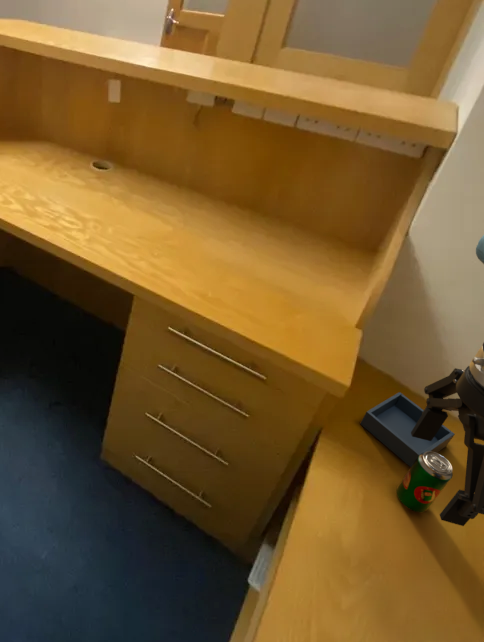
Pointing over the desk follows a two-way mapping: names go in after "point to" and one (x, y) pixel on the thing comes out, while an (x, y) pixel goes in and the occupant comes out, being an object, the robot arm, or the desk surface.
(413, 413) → the tub
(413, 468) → the soda can
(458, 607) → the desk surface
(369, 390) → the desk surface
